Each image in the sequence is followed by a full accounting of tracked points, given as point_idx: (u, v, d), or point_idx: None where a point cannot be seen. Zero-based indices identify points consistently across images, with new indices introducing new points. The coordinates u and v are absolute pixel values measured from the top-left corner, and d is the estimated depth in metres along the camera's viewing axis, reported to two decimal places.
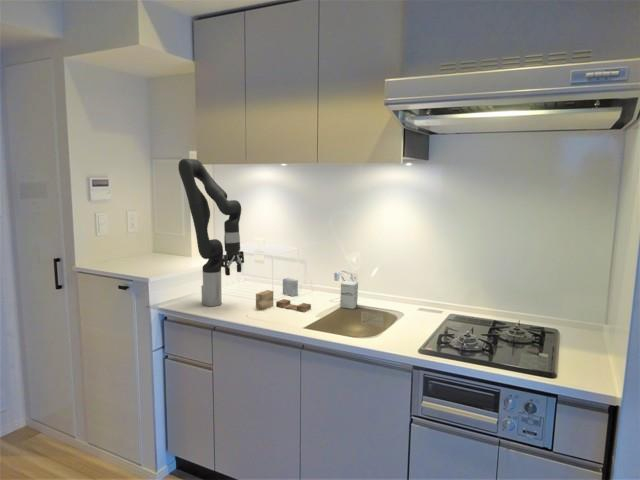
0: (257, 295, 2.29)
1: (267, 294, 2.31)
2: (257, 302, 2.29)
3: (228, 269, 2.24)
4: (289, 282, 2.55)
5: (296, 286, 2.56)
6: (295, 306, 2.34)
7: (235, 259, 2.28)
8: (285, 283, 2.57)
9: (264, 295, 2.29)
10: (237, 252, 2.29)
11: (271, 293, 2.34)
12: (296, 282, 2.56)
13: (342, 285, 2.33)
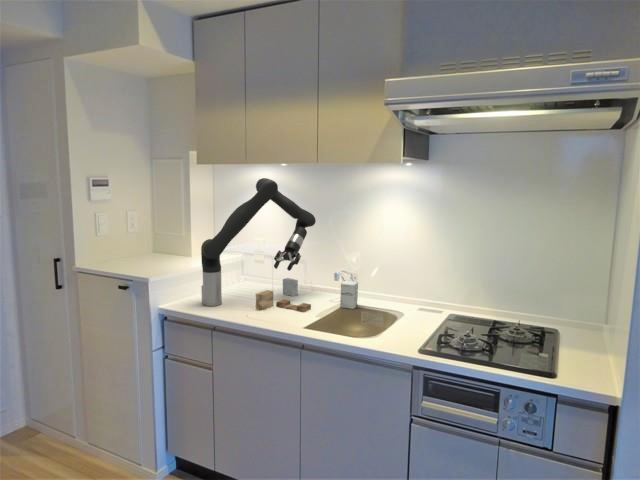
0: (257, 295, 2.29)
1: (267, 294, 2.31)
2: (257, 302, 2.29)
3: None
4: (289, 282, 2.55)
5: (296, 286, 2.56)
6: (295, 306, 2.34)
7: None
8: (285, 283, 2.57)
9: (264, 295, 2.29)
10: None
11: (271, 293, 2.34)
12: (296, 282, 2.56)
13: (342, 286, 2.33)
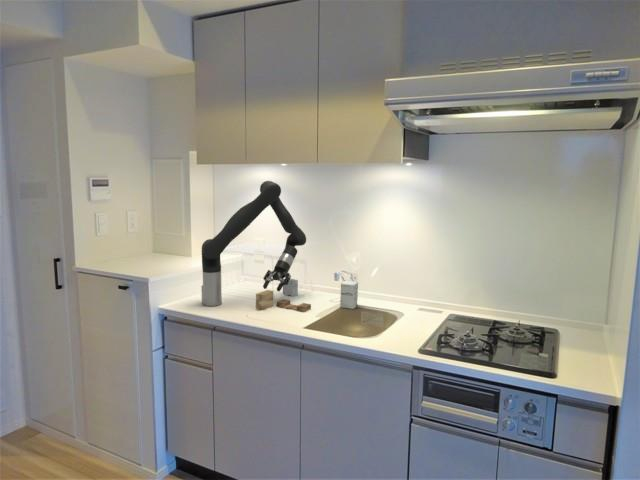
0: (257, 295, 2.29)
1: (267, 294, 2.31)
2: (257, 302, 2.29)
3: None
4: (289, 282, 2.55)
5: (296, 286, 2.56)
6: (295, 306, 2.34)
7: None
8: None
9: (264, 295, 2.29)
10: None
11: (271, 293, 2.34)
12: (296, 282, 2.56)
13: (342, 286, 2.33)
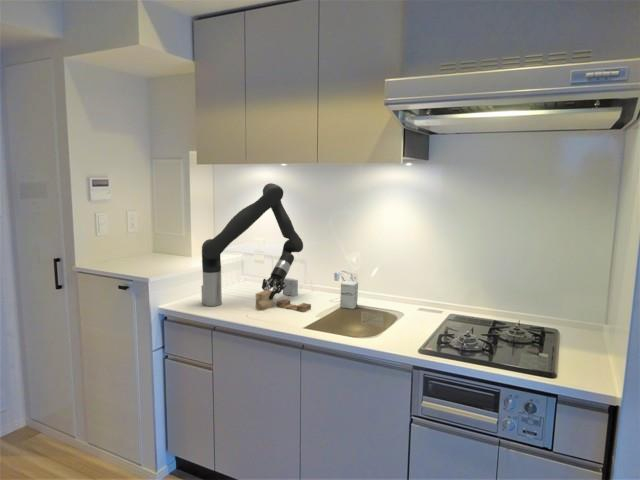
0: (257, 295, 2.29)
1: (267, 294, 2.31)
2: (257, 302, 2.29)
3: None
4: (289, 282, 2.55)
5: (296, 286, 2.56)
6: (295, 306, 2.34)
7: None
8: (285, 283, 2.57)
9: (264, 295, 2.29)
10: None
11: None
12: (296, 282, 2.56)
13: (342, 286, 2.33)
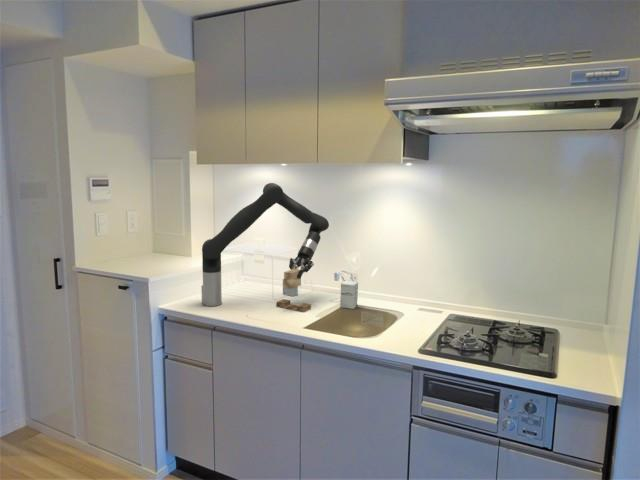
0: (285, 273, 2.27)
1: (295, 272, 2.29)
2: (286, 281, 2.27)
3: None
4: None
5: None
6: (295, 306, 2.34)
7: None
8: None
9: (292, 273, 2.27)
10: None
11: None
12: None
13: (342, 286, 2.33)
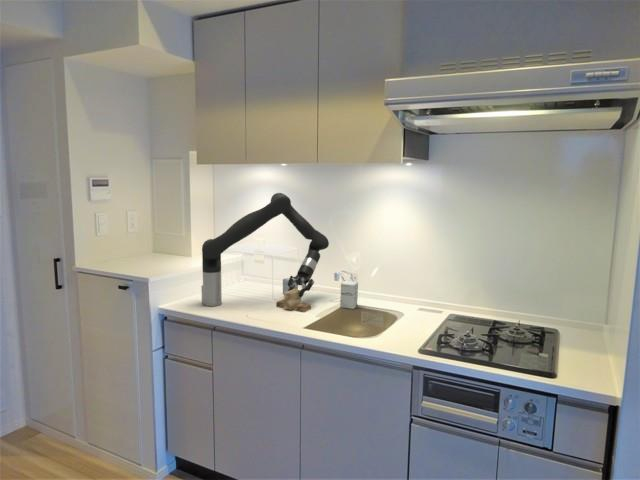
0: (285, 294, 2.29)
1: (295, 293, 2.31)
2: (286, 301, 2.29)
3: None
4: None
5: None
6: None
7: None
8: (285, 283, 2.57)
9: (292, 294, 2.29)
10: None
11: (299, 292, 2.34)
12: None
13: (342, 286, 2.33)
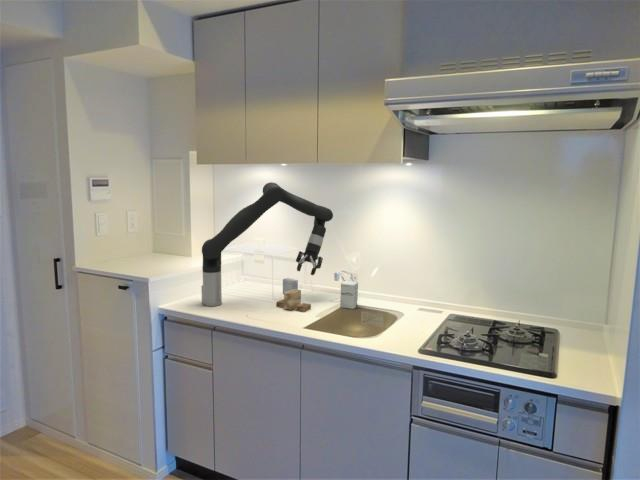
0: (285, 294, 2.29)
1: (295, 293, 2.31)
2: (286, 301, 2.29)
3: None
4: (289, 282, 2.55)
5: (296, 286, 2.56)
6: None
7: None
8: (285, 283, 2.57)
9: (292, 294, 2.29)
10: None
11: (299, 292, 2.34)
12: (296, 282, 2.56)
13: (342, 286, 2.33)
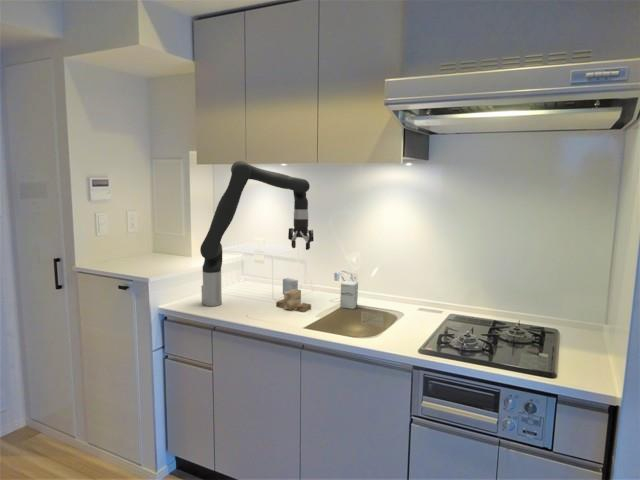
0: (285, 294, 2.29)
1: (295, 293, 2.31)
2: (286, 301, 2.29)
3: None
4: (289, 282, 2.55)
5: (296, 286, 2.56)
6: None
7: None
8: (285, 283, 2.57)
9: (292, 294, 2.29)
10: None
11: (299, 292, 2.34)
12: (296, 282, 2.56)
13: (342, 286, 2.33)
